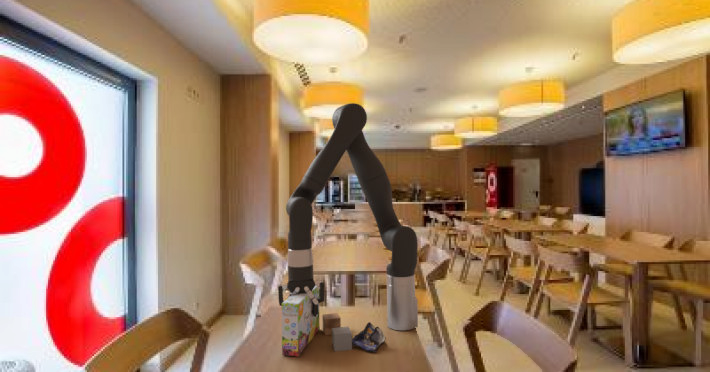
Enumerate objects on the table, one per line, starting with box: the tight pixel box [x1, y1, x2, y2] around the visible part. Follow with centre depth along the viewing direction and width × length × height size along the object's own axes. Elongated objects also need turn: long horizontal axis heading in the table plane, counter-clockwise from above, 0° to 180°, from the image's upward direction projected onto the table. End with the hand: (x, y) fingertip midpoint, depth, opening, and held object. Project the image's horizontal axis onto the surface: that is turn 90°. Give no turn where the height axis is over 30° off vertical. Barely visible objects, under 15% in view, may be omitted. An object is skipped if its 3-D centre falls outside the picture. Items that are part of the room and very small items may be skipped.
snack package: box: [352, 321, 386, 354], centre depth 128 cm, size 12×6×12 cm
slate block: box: [331, 326, 353, 352], centre depth 127 cm, size 5×5×5 cm
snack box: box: [281, 286, 320, 357], centre depth 131 cm, size 21×6×15 cm, turn 169°
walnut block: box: [321, 312, 342, 336], centre depth 139 cm, size 5×5×5 cm
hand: (302, 317), depth 131 cm, fingers closed on snack box, 7 cm apart
